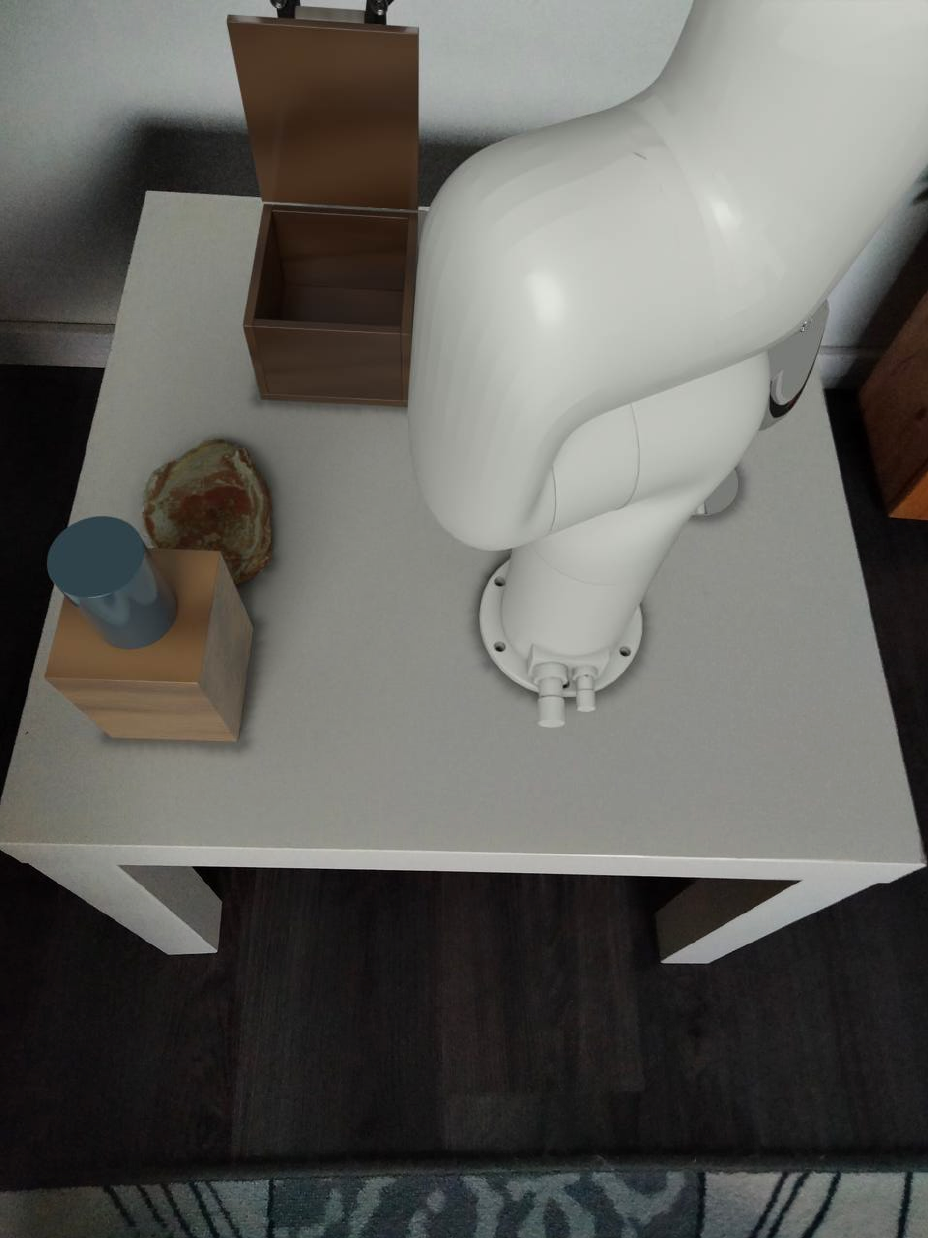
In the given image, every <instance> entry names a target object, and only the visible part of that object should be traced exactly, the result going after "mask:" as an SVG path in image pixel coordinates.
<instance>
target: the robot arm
mask: <svg viewBox="0 0 928 1238" xmlns="http://www.w3.org/2000/svg"><path fill="white" fill-rule="evenodd" d="M393 2H395V0H366V2H365V9H364V10H365V24H380V25H388V24H387V21H388V20H387V13H388V11H389V7H390V6H391V4H392V3H393ZM269 3H270V4H271V5H272V7H273V8H275V9H276V18H290V19H295V8H296V6H302V4H301V0H269ZM927 165H928V0H693V1H692V4H691V8H690V10H689V13H688V15H687V17H686V19H685V22H684V25H683V27H682V29H681V32H680V34H679V36H678V39H677V41H676V44H675V45H674V47H673V50H672V51H671V54H670V56H669V58H668V60H667V61H666V63H665V65H664V67H663V68H662V70H661V71H660V73H659V75H658V76H657V77H656V79H655V80H654V81H653V82H651V84H650V85H649V86H647V87H646V88H645V89H643V90H642V91H640V92H638V93H636V94H635V95H633V96H632V97H630V98H628V99H627V100H624V101H623V102H620V103H618V104H616V105H614V106H612V107H608V108H606V109H603V110H599V111H596V112H592V113H589V114H585V115H582V116H578V117H574V118H570V119H567V120H564V121H560V122H557V123H552V124H550V125H546V126H543V127H539V128H535V129H532V130H528V131H525V132H522V133H519V134H516V135H513V136H510V137H507V138H505V139H502V140H500V141H497V142H495V143H492V144H490V145H488V146H486V147H484V148H482V149H480V150H479V151H477V152H475V153H474V154H472V155H471V156H469V157H468V158H467V159H466V160H464V161H463V162H462V163H461V164H460V165H459V166H457V168H456V169H454V170H453V171H452V173H450V174H449V176H448V177H447V178H446V180H445V181H444V182H443V183H442V184H441V186H440V188H439V189H438V191H437V193H436V195H435V197H434V199H432V202H431V203H430V206H429V209H428V211H427V213H426V217H425V218H424V223H423V226H422V230H421V235H420V240H419V241H420V242H419V248H418V264H417V275H416V289H415V304H414V319H413V333H412V348H411V363H410V377H409V392H408V407H407V434H408V446H409V452H410V458H411V462H412V467H413V472H414V476H415V480H416V482H417V483H416V484H417V486H418V489H419V492H420V493H421V495H422V498H423V501H424V502H425V504H426V506H427V508H428V509H429V511H430V513H431V514H432V517H434V518H435V520H436V521H437V522H438V524H439V525H440V526H441V527H442V528H443V529H444V530H445V531H446V532H447V533H448V534H449V535H450V536H451V537H452V538H455V539H456V540H457V541H458V542H460V543H462V544H464V545H466V546H468V547H470V548H473V549H476V550H477V549H478V550H481V551H489V552H499V551H505V550H511V555H510V558H508V559H507V560H506V561H505V562H503V563H502V564H501V565H500V566H499V567H498V568H497V569H496V570H495V572H494V573H493V574H492V575H491V577H490V578H489V579H488V581H487V583H486V586H485V588H484V590H483V593H482V597H481V601H480V606H479V615H478V620H479V621H478V622H479V630H480V631H479V632H480V636H481V639H482V641H483V645H484V648H485V649H486V651H487V652H488V654H489V655H488V656H489V657H490V659H491V660H492V661H493V662H494V663H495V665H496V666H497V667H498V669H499V670H500V671H501V672H502V673H503V674H505V675H506V676H507V677H508V678H509V679H511V680H512V681H513V682H515V683H516V684H517V685H520V686H521V687H523V688H525V689H527V690H529V691H532V692H535V693H537V694H538V698H537V725H538V726H540V727H543V728H549V729H554V728H555V729H556V728H560V727H564V726H565V725H566V707H565V705H566V704H565V699H564V698H575V700H576V701H575V702H576V703H575V705H576V710H577V711H578V712H581V713H590V712H594V711H595V710H596V709H597V707H596V706H597V703H596V692H599V691H601V690H603V689H604V688H606V687H608V686H609V685H611V684H612V683H614V682H615V681H617V680H618V679H619V678H620V677H621V675H622V674H624V672H626V670H627V669H628V667H629V666H630V665H631V663H632V662H633V660H634V658H635V656H636V654H637V653H638V650H639V648H640V644H641V640H642V636H643V615H642V609H641V608H642V607H641V603H642V601H643V599H644V598H645V595H646V594H647V593H648V591H649V589H650V587H651V585H652V583H653V581H654V579H655V577H656V576H657V574H658V572H659V570H660V568H661V567H662V565H663V563H664V561H665V559H667V557H668V555H669V554H670V552H671V550H672V549H673V547H674V545H675V543H676V542H677V539H678V538H679V536H680V534H681V533H682V531H683V530H684V528H685V526H686V525H687V523H688V522H689V520H690V519H691V518H692V516H694V515H693V514H694V512H695V511H696V510H697V509H698V508H699V506H700V505H701V504H702V503H703V502H704V501H705V500H706V499H707V498H708V497H709V496H710V495H711V493H712V492H713V491H714V490H715V489H716V488H717V487H718V486H719V485H720V484H721V483H722V482H723V481H724V480H725V478H726V477H727V476H728V475H729V474H730V473H731V472H732V470H733V469H734V468H736V467H737V466H738V464H739V463H740V462H741V461H742V459H743V458H744V456H745V455H746V454H747V452H748V451H749V449H750V447H751V446H752V444H753V442H754V440H755V438H756V436H757V434H758V432H760V431H759V428H760V426H761V424H762V421H763V418H764V415H765V412H766V409H767V404H768V399H769V394H770V383H771V372H770V362H769V356H768V349H770V348H772V347H774V346H776V345H777V344H779V343H781V342H782V341H784V340H785V339H787V338H788V337H789V336H791V335H792V334H794V333H795V332H796V331H797V330H798V329H799V328H800V327H802V326H803V325H804V324H805V323H806V322H807V321H808V320H809V319H810V317H811V316H812V315H813V314H814V313H815V312H816V311H817V310H818V308H819V307H820V306H821V305H822V303H823V302H824V301H825V300H826V299H827V300H828V297H829V296H830V295H831V293H832V292H833V291H834V290H835V289H836V288H837V286H838V285H839V283H840V282H841V281H842V279H843V278H844V277H845V275H846V274H847V272H848V271H849V269H850V268H851V267H852V265H853V264H854V263H855V261H856V260H857V259H858V257H859V256H860V255H861V253H862V252H863V251H864V249H865V248H866V247H867V246H868V244H869V243H870V241H871V240H872V239H873V238H874V236H875V235H876V233H877V232H878V231H879V230H880V228H881V227H882V225H883V224H884V223H885V222H886V220H887V219H888V218H889V216H890V215H891V213H892V212H893V211H894V209H895V208H896V207H897V205H898V204H899V203H900V201H901V200H902V198H904V196H905V195H906V193H907V192H908V191H909V189H910V188H911V187H912V185H913V184H914V183H915V181H916V180H917V179H918V177H919V176H920V175H921V173H922V172H923V170H925V168H926V167H927ZM499 585H500V586H499ZM497 649H500V650H501V651H498V650H497ZM623 654H624V655H625V656H624V655H623Z"/></svg>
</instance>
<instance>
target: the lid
mask: <svg viewBox="0 0 928 1238" xmlns="http://www.w3.org/2000/svg"><path fill="white" fill-rule="evenodd" d="M365 10H366V9H355V8H354V9H353V8H352V9H351V8H339V7H338V8H337V7H322V6H308V5H301V6H296V8H295V19H290V18H278V17H274V16H273V17H272V16H260V15H259V16H258V15H246V14H245V15H244V14H227V17H226V20H225V21H226V26H227V32H228V38H229V42H230V47H231V52H232V57H233V63H234V68H235V72H236V77H237V84H238V88H239V92H240V98H241V103H242V109H243V113H244V117H245V122H246V128H247V133H248V137H249V143H250V148H251V153H252V158H253V163H254V168H255V174H256V178H257V184H258V188H259V193H260V198H261V202H263V203H277V204H278V203H279V204H280V203H282V204H296V205H312V206H313V205H314V206H329V207H330V206H331V207H345V208H347V207H349V208H363V209H364V208H366V209H382V210H398V211H414V212H416V211H417V212H418V211H419V206H420V173H419V172H420V27H419V26H408V25H392V24H387V25H380V24H365Z"/></svg>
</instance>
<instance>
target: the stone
mask: <svg viewBox="0 0 928 1238" xmlns="http://www.w3.org/2000/svg"><path fill="white" fill-rule="evenodd" d="M142 493H143V495H142V498H143V511H142V512H141V513H142V521H143V526H144V530H145V532H146V534H147V537H148V539H149V541H150V542H151V544H152V545H153V546H154V548H159V549H183V550H207V551H220V552H221V554H222V557H223V559H224V561H225V564H226V566H227V568H228V571H229V573H230V575H231V578H232V580H233V582H234V585H235V586H236V585H238V584H241V583H244V582H245V583H246V582H248V581H250V580H253V579H255V578H256V577H257V576H258V575H259V573H260V572H261V571H264V570H265V569H266V568H268V564H269V563H270V561H271V560H272V556H273V552H274V539H273V535H272V521H273V501H272V493H271V488H270V486H269V484H268V482H267V480H266V479H265V477H264V475H263V474H262V473H261V471H260V470H259V469H258V468H257V466H256V465H255V464H254V462H253V458H252V456H251V453H250V452H249V450H248V448H247V447H240V446H239V445H238V444H233V443H231V442H230V441H228V440H225V439H222V438H214V439H207V440H203V441H201V442H199V443H198V444H197V447H193V448H191V449H189V450H187V451H186V452H185V453H184V454H183V455H182V456H180V457H179V459H178V460H173V459H172V461H168V462H165V463H163V464H162V465H161V466H160V467H158V468H155V469H154V470H153V471H151V474H150V477H149V478H148V480H147V482H146V483H145V485H144V489H143V492H142Z"/></svg>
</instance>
